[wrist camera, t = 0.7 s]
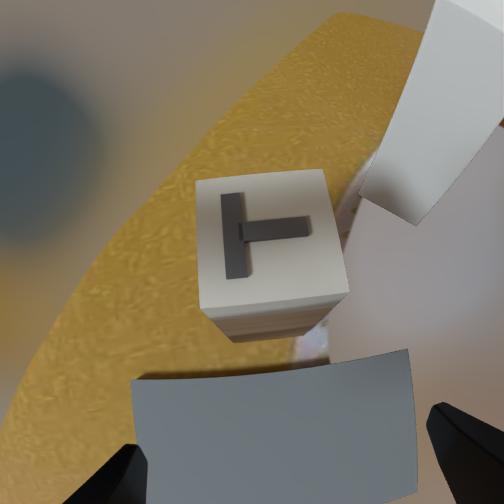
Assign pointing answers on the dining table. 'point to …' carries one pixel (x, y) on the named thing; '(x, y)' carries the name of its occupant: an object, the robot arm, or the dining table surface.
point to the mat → (281, 435)
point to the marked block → (268, 254)
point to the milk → (442, 109)
